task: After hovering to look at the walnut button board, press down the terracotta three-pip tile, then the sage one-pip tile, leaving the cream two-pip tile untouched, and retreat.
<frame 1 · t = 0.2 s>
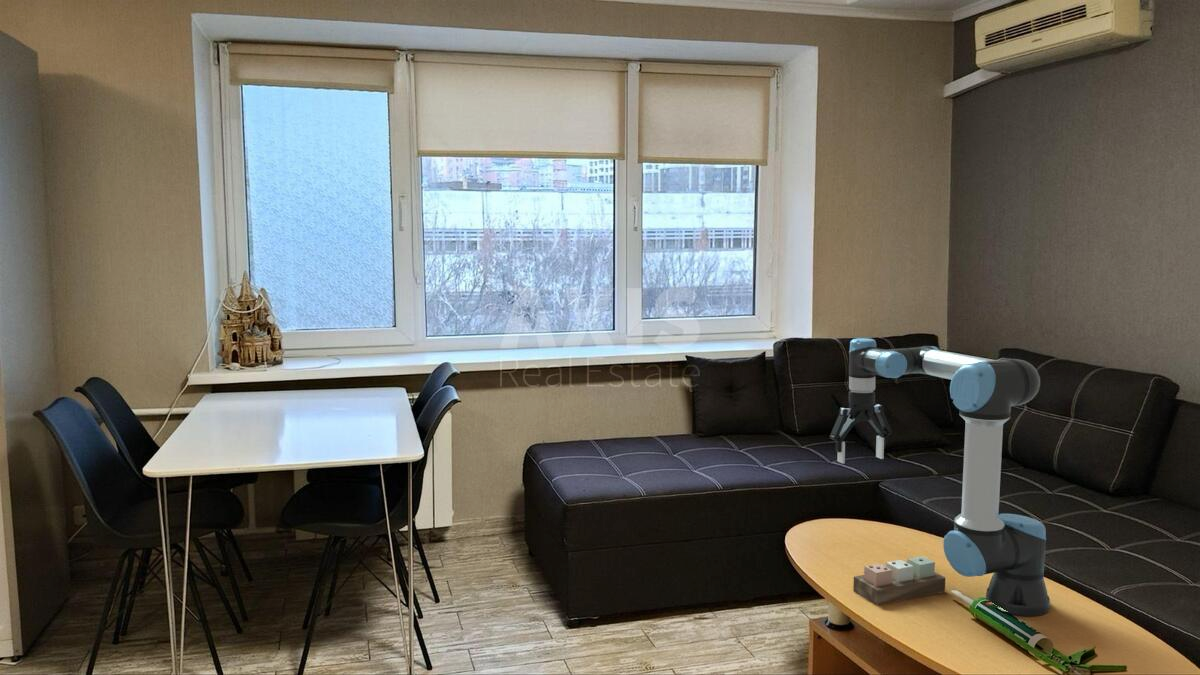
hand: (860, 460, 273), 28 cm above the table, fingers open, 13 cm apart
tile one: (920, 568, 246), point 5 cm above the table, slide at 0.0 cm
tile three: (877, 576, 241), point 5 cm above the table, slide at 0.0 cm
board: (899, 591, 245), on the table
tile two: (899, 572, 244), point 5 cm above the table, slide at 0.0 cm
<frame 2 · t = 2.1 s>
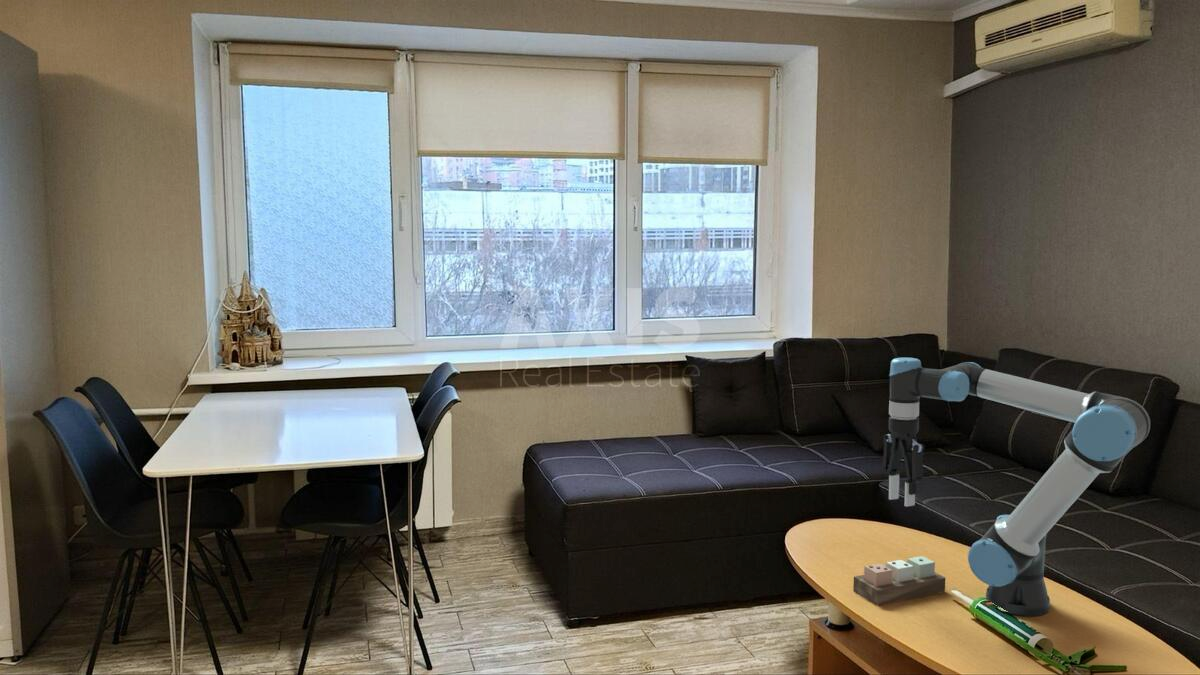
hand: (901, 502, 241), 25 cm above the table, fingers open, 6 cm apart
nothing on the table moved.
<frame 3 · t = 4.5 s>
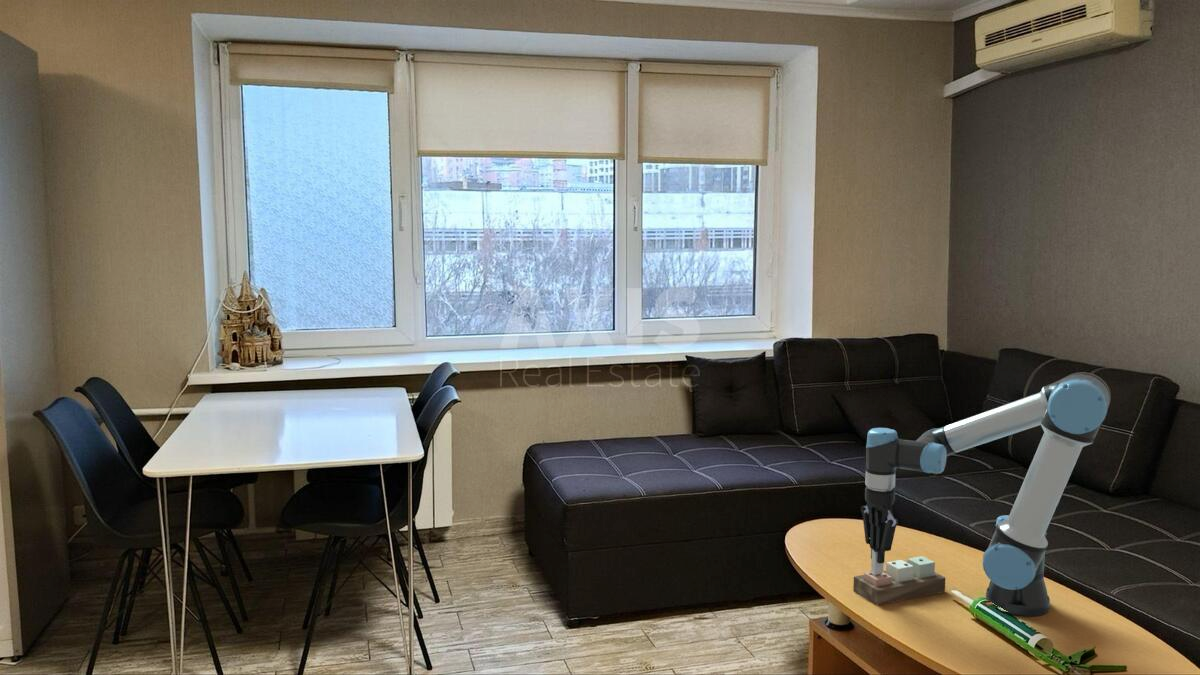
hand: (877, 573, 241), 6 cm above the table, fingers closed
tile three: (877, 583, 242), point 3 cm above the table, slide at 1.9 cm, touching gripper
everything else where it was.
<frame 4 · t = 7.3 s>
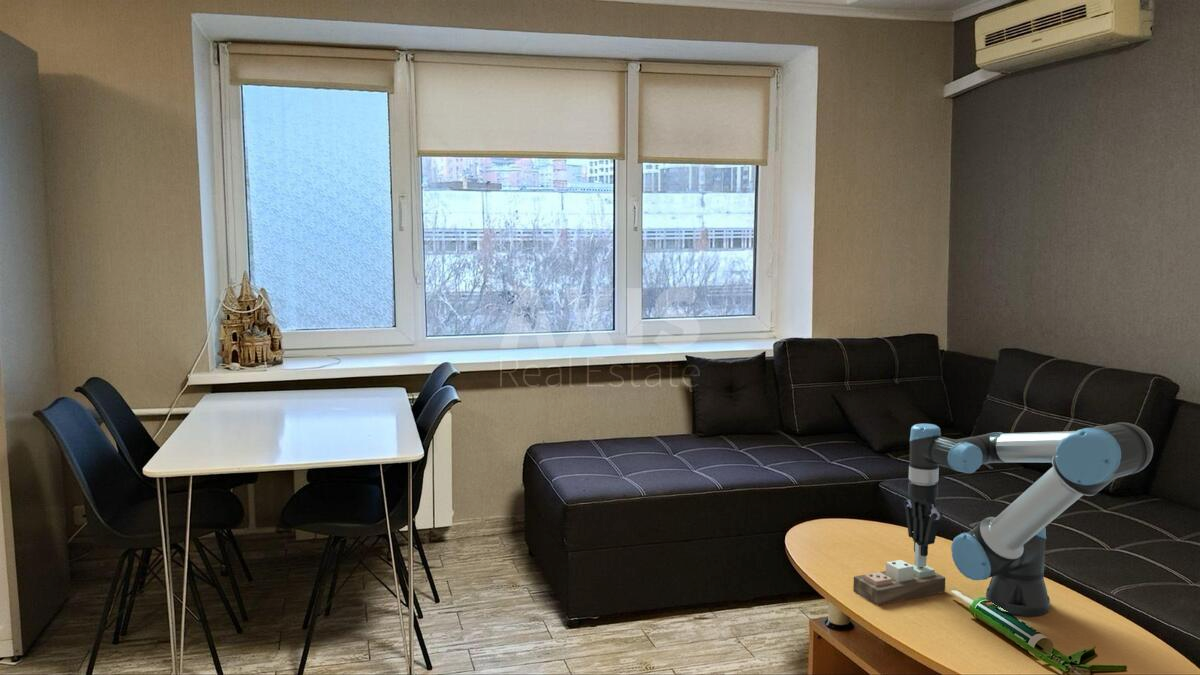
hand: (920, 565, 246), 6 cm above the table, fingers closed
tile one: (920, 576, 247), point 3 cm above the table, slide at 2.1 cm, touching gripper
tile three: (877, 585, 242), point 3 cm above the table, slide at 2.4 cm
everything else where it was.
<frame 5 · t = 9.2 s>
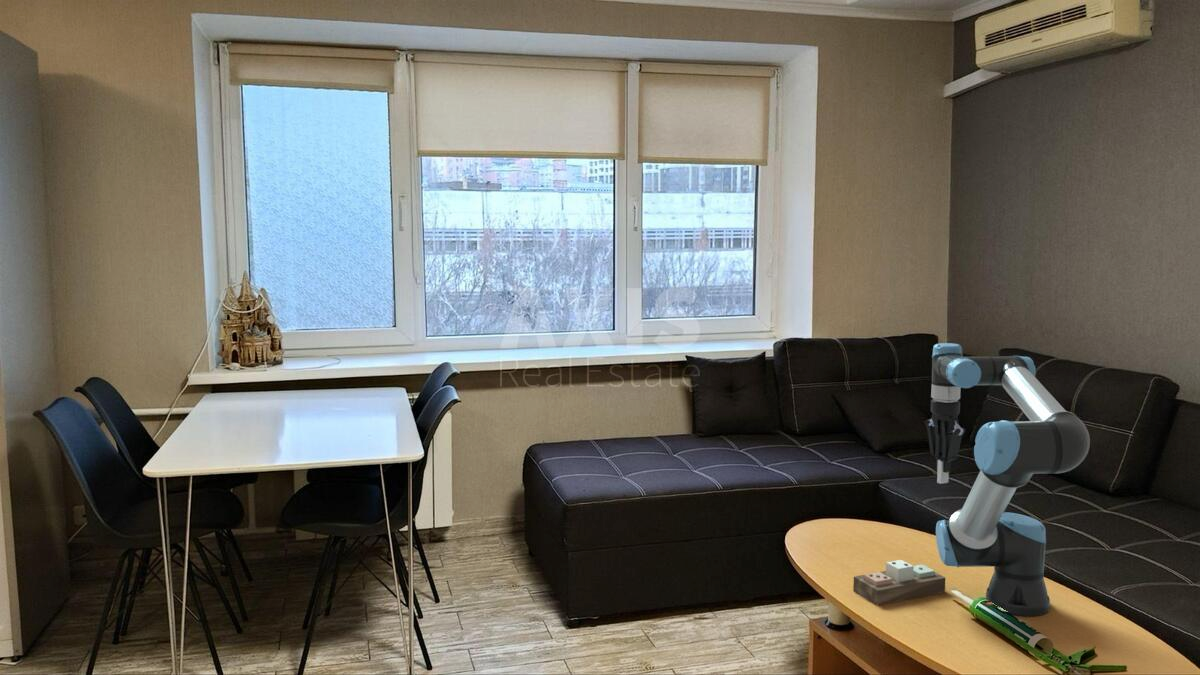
hand: (942, 482, 253), 26 cm above the table, fingers closed
tile one: (920, 577, 247), point 3 cm above the table, slide at 2.4 cm
everything else where it was.
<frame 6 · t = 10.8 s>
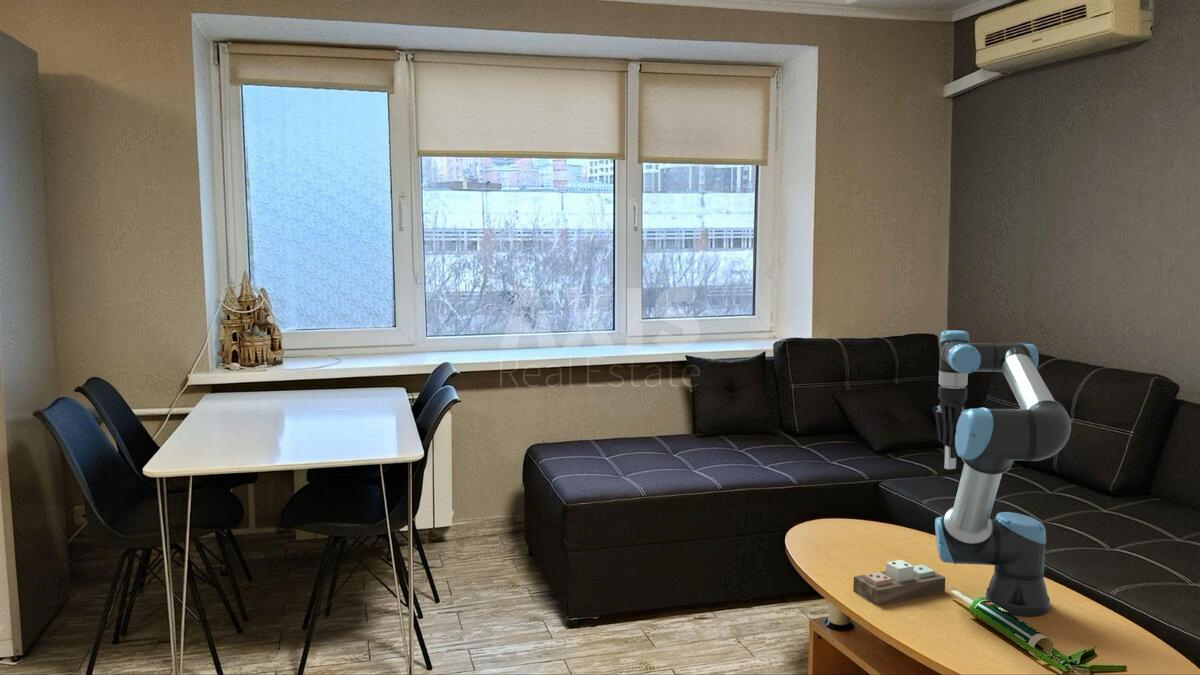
hand: (950, 468, 256), 29 cm above the table, fingers closed
nothing on the table moved.
at the end: tile three slide at 2.4 cm; tile one slide at 2.4 cm; tile two slide at 0.0 cm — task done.
